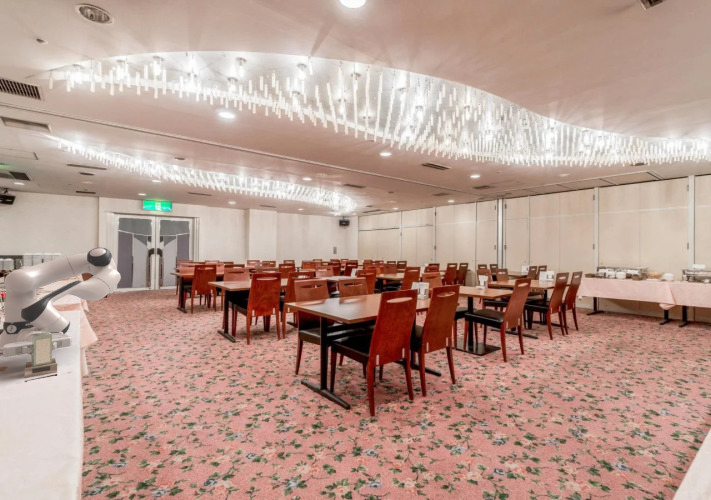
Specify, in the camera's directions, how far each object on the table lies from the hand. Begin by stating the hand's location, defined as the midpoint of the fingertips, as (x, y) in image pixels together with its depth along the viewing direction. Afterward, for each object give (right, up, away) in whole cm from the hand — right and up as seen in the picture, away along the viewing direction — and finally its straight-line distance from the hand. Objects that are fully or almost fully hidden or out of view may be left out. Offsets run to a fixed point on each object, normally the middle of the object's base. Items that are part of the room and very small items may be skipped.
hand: (42, 349), depth 132 cm
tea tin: (0, -7, 0) cm, 7 cm away
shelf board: (-5, -10, +5) cm, 12 cm away
